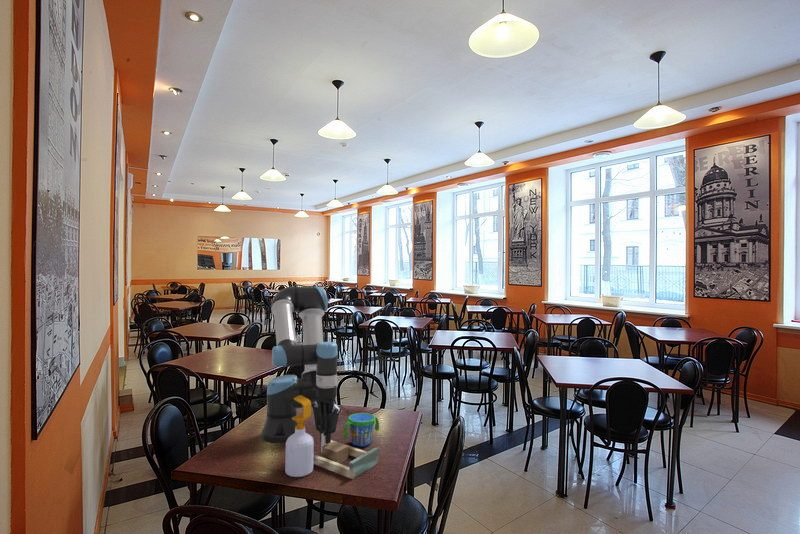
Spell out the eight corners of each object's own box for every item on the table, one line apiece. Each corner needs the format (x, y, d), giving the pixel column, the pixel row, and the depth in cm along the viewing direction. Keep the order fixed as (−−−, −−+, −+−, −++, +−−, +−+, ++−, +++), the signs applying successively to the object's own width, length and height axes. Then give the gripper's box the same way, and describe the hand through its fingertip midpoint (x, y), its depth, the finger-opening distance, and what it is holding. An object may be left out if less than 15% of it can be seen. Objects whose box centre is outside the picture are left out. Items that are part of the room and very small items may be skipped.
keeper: (321, 459, 145) (322, 446, 145) (333, 453, 150) (333, 441, 150) (336, 465, 141) (336, 452, 141) (348, 458, 146) (348, 446, 146)
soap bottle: (296, 462, 142) (297, 391, 142) (318, 467, 138) (319, 395, 139) (279, 474, 134) (281, 399, 134) (302, 480, 130) (304, 402, 130)
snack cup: (372, 434, 167) (372, 409, 168) (385, 443, 159) (386, 417, 159) (337, 442, 159) (337, 416, 159) (349, 453, 150) (349, 425, 150)
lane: (300, 459, 145) (300, 444, 145) (328, 445, 156) (328, 432, 156) (352, 479, 131) (353, 463, 131) (378, 462, 143) (378, 448, 143)
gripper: (306, 385, 148) (304, 450, 148) (332, 390, 141) (331, 460, 140) (320, 380, 154) (319, 443, 154) (346, 386, 147) (345, 452, 146)
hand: (325, 451), depth 147 cm, fingers closed
